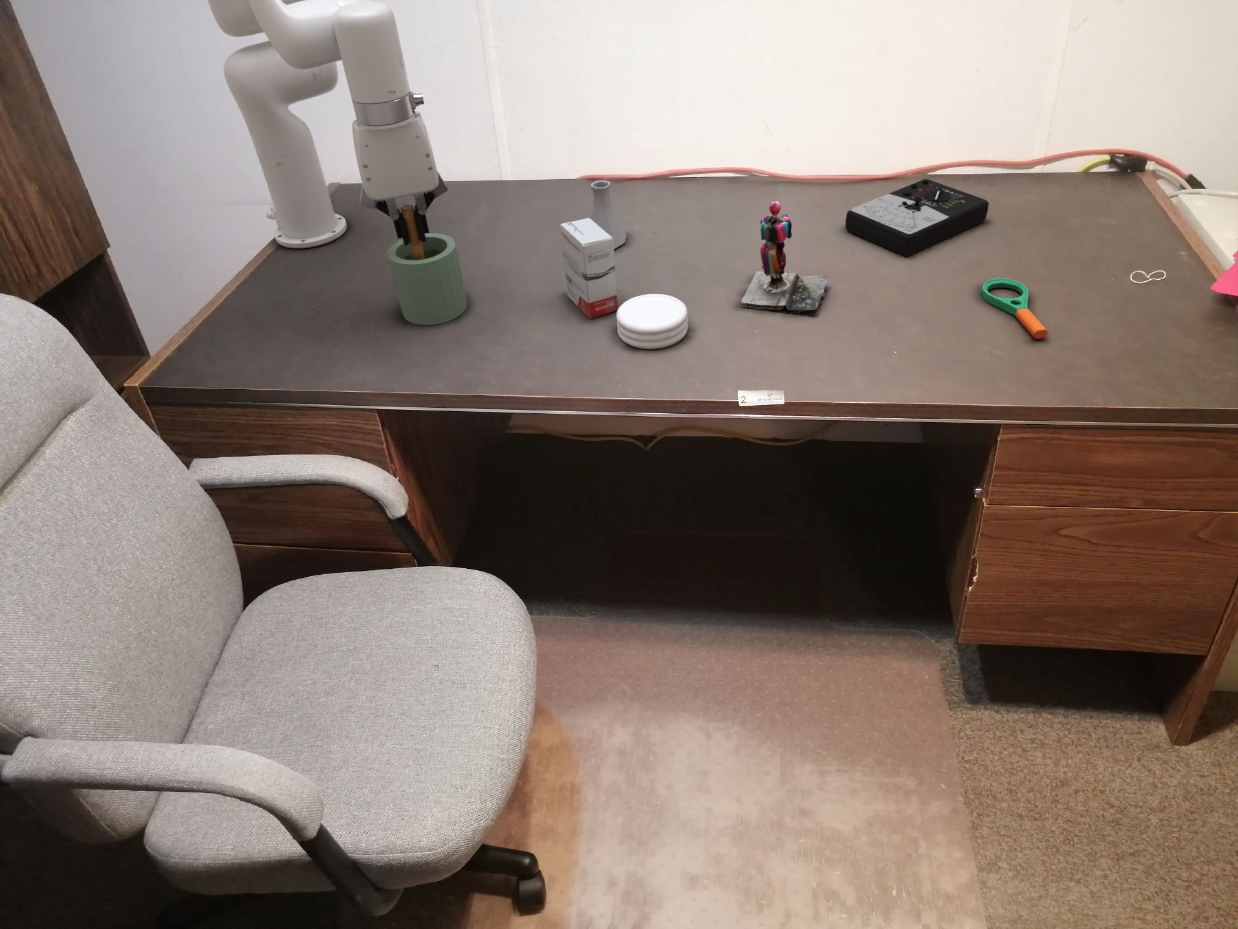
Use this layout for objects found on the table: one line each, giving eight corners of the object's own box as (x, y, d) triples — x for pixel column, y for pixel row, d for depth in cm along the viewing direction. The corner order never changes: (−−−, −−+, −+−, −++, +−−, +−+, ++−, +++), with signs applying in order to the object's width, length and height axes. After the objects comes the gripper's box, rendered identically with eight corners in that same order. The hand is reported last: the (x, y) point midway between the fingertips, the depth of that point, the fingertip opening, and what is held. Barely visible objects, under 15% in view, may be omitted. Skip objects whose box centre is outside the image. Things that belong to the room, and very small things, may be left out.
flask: (577, 248, 148) (570, 190, 142) (594, 230, 153) (588, 173, 147) (617, 253, 146) (612, 194, 140) (633, 234, 151) (629, 176, 145)
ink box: (619, 310, 132) (614, 236, 124) (589, 320, 130) (581, 245, 123) (595, 287, 138) (588, 214, 130) (566, 295, 136) (557, 223, 129)
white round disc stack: (666, 357, 121) (665, 335, 119) (604, 340, 126) (602, 318, 123) (700, 322, 127) (700, 301, 125) (640, 307, 132) (639, 286, 130)
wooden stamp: (407, 309, 134) (383, 211, 124) (426, 294, 137) (404, 198, 127) (432, 314, 132) (409, 216, 122) (450, 300, 135) (429, 202, 125)
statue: (741, 314, 131) (730, 218, 122) (758, 283, 137) (748, 189, 128) (816, 316, 126) (810, 216, 117) (829, 283, 133) (824, 187, 124)
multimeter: (986, 221, 146) (992, 192, 142) (905, 258, 138) (910, 228, 135) (923, 197, 154) (927, 169, 151) (843, 231, 147) (846, 202, 143)
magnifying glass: (974, 287, 130) (976, 277, 129) (1015, 283, 130) (1017, 273, 129) (1016, 342, 118) (1019, 331, 117) (1061, 338, 118) (1064, 327, 117)
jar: (389, 318, 135) (373, 257, 128) (428, 288, 141) (415, 229, 135) (442, 330, 131) (428, 268, 124) (479, 299, 137) (468, 238, 131)
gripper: (440, 91, 120) (464, 219, 132) (321, 110, 117) (356, 239, 129) (448, 107, 115) (473, 240, 127) (324, 128, 112) (361, 262, 124)
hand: (414, 239), depth 128 cm, fingers closed on wooden stamp
